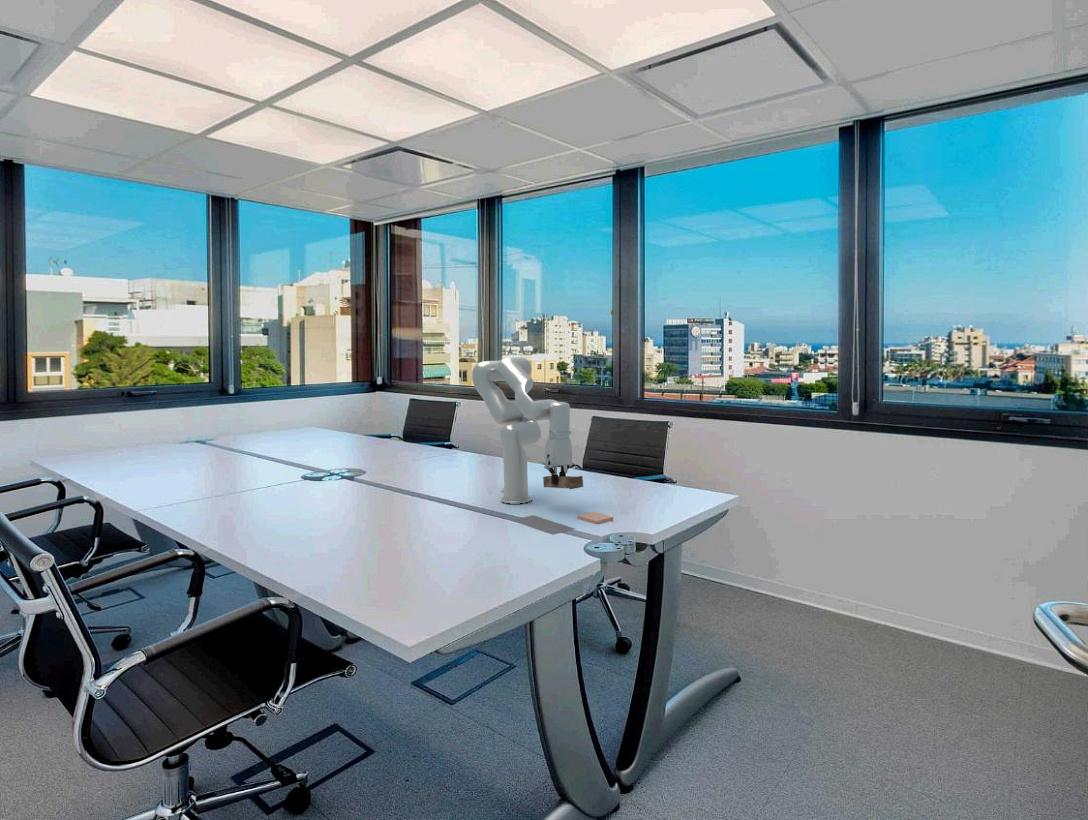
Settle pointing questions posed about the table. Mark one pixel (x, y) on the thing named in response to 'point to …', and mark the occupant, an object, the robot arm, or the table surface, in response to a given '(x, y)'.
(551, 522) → the tool mat
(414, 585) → the table surface
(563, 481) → the wooden beam
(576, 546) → the table surface
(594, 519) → the tile
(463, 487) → the table surface
